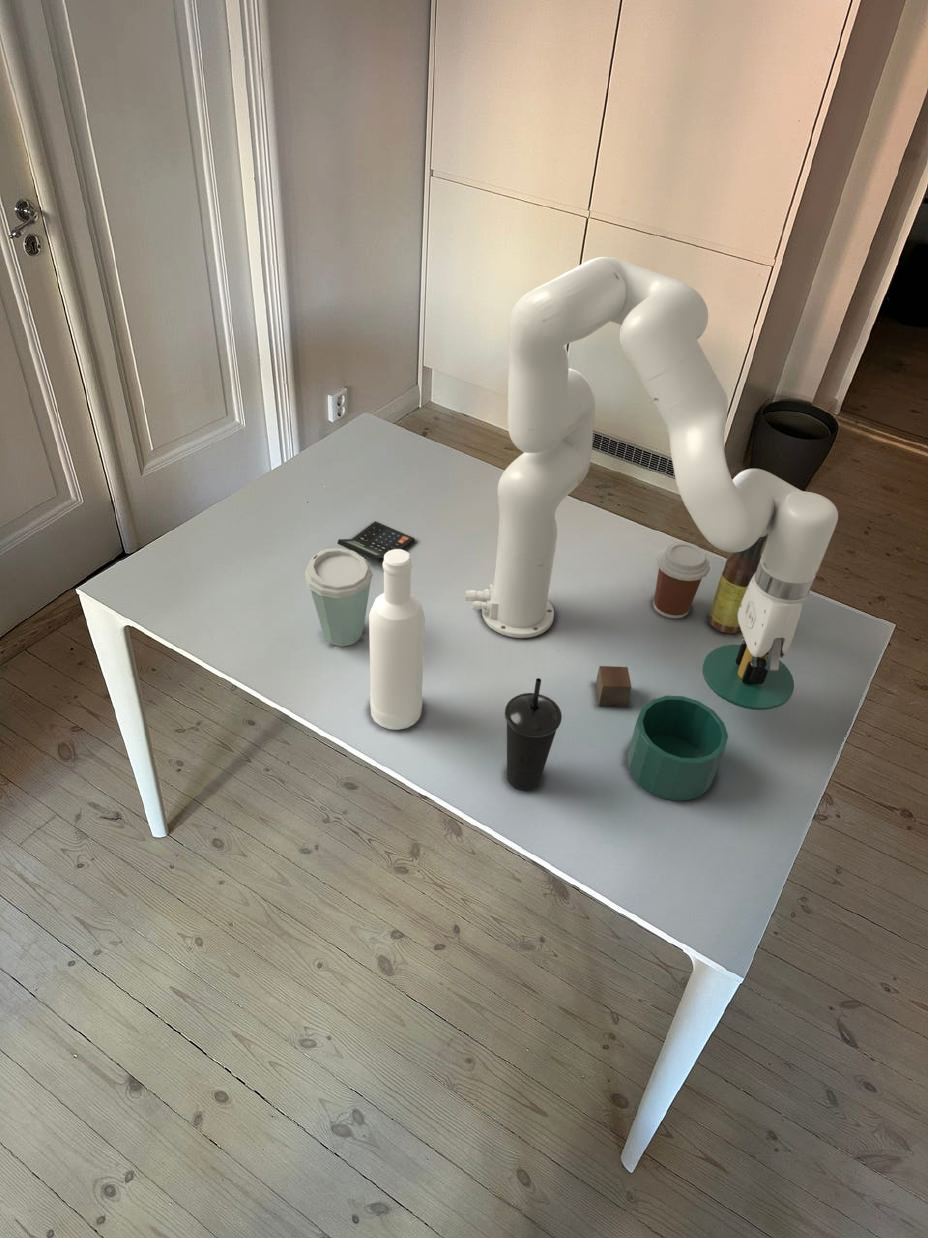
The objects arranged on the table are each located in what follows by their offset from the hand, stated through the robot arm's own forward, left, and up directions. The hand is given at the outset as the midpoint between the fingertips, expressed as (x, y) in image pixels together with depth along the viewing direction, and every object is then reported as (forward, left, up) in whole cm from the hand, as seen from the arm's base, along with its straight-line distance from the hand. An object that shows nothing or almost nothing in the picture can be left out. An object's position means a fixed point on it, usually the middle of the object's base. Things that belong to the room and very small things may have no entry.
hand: (749, 672), depth 132 cm
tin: (-12, -11, -9) cm, 19 cm away
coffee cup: (-5, +26, -10) cm, 28 cm away
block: (-19, +3, -9) cm, 22 cm away
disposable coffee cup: (-63, +15, -10) cm, 66 cm away
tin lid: (0, 0, -1) cm, 1 cm away
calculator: (-59, +40, -10) cm, 72 cm away
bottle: (-53, -2, -10) cm, 54 cm away
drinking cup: (-34, -14, -10) cm, 38 cm away
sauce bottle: (+4, +22, -10) cm, 24 cm away
